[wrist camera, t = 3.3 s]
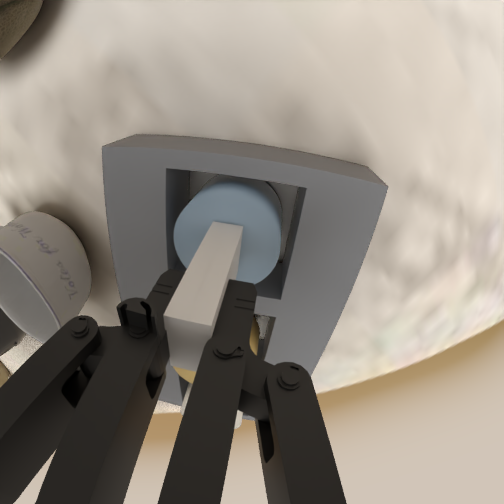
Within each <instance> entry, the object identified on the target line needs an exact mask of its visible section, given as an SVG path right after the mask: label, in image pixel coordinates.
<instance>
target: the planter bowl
mask: <svg viewBox="0 0 504 504" xmlns="http://www.w3.org/2000/svg"><path fill="white" fill-rule="evenodd" d="M8 375H9V372H8V370H7V369H6V368H5V366H4V365H3V364H2V363H1V362H0V387H1V386H2V385H3V384H4V383H5V382H6V381H7V380H8Z"/></svg>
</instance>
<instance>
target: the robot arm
mask: <svg viewBox="0 0 504 504" xmlns="http://www.w3.org/2000/svg"><path fill="white" fill-rule="evenodd" d="M242 233H243V226H239V225H233V224H227V223H220V222H214V221H213V222H212V224H211V226H210V228H209V230H208V231H207V233H206V235H205V237H204V239H203V240H202V242H201V244H200V246H199V248H198V250H197V251H196V253H195V255H194V257H193V259H192V261H191V263H190V264H189V266H188V268H187V270H186V272H185V271H180V270H175V269H169V270H167V271H166V272H164V273H163V274H161V275H160V277H159V279H158V280H157V282H156V285H154V287H153V288H152V291H151V292H150V293H149V295H148V297H147V298H146V299H144V298H137V297H135V298H129V299H126V300H124V301H122V302H121V303H120V304H119V305H118V306H117V311H118V315H119V319H120V322H121V326H115V327H106V326H98V325H97V322H96V321H95V320H94V319H93V318H92V317H89V316H82V315H81V316H77V317H74V318H72V319H71V320H69V321H68V322H67V323H66V324H65V325H64V326H63V327H61V328H60V329H59V330H58V331H57V332H56V333H55V334H54V335H53V336H52V337H51V338H50V339H48V340H47V341H46V342H45V343H44V344H43V345H42V346H41V347H40V348H39V349H38V350H37V351H36V352H35V353H34V354H33V355H32V356H31V357H30V358H29V359H28V360H27V361H26V362H25V363H24V364H23V365H22V366H21V367H20V368H19V369H18V370H17V371H16V372H15V373H14V374H13V375H12V376H11V377H10V378H9V379H8V380H7V381H6V382H5V383H4V384H3V385H2V386H1V387H0V504H13V503H14V502H15V501H16V500H17V499H18V498H19V496H20V495H21V493H22V492H23V491H24V490H25V488H26V487H27V486H28V484H29V483H30V482H31V480H32V479H33V478H34V476H35V475H36V474H37V473H38V472H39V470H40V469H41V468H42V466H43V465H44V464H45V463H46V461H47V460H48V459H49V458H50V456H51V455H52V454H53V453H54V451H55V450H56V449H57V450H56V452H55V454H54V457H53V459H52V461H51V464H50V466H49V469H48V471H47V474H46V477H45V479H44V482H43V484H42V487H41V489H40V492H39V495H38V498H37V501H36V503H35V504H123V502H124V499H125V496H126V492H127V489H128V486H129V483H130V479H131V477H132V473H133V470H134V467H135V464H136V461H137V458H138V455H139V452H140V449H141V446H142V444H143V441H144V438H145V435H146V432H147V429H148V426H149V423H150V420H151V418H152V415H153V412H154V409H155V406H156V404H157V401H158V398H159V395H160V393H161V390H162V387H163V385H164V382H165V379H166V365H167V363H168V360H169V359H170V365H171V366H174V367H178V368H182V369H186V370H190V371H195V372H196V375H195V378H194V381H193V384H192V388H191V391H190V394H189V397H188V401H187V404H186V407H185V411H184V414H183V418H182V421H181V424H180V428H179V431H178V434H177V438H176V441H175V445H174V448H173V451H172V455H171V458H170V462H169V465H168V469H167V472H166V476H165V479H164V483H163V487H162V490H161V493H160V497H159V501H158V504H220V502H221V497H222V491H223V486H224V481H225V476H226V470H227V465H228V460H229V455H230V449H231V443H232V438H233V433H234V427H235V422H236V416H237V411H238V410H239V411H241V412H243V413H245V414H247V415H249V416H251V417H253V418H255V424H256V430H257V437H258V443H259V450H260V456H261V463H262V469H263V475H264V481H265V487H266V493H267V499H268V504H346V500H345V496H344V492H343V489H342V485H341V481H340V477H339V474H338V470H337V466H336V463H335V459H334V456H333V452H332V448H331V445H330V441H329V438H328V435H327V431H326V427H325V424H324V421H323V417H322V413H321V410H320V407H319V403H318V400H317V397H316V393H315V390H314V386H313V383H312V380H311V377H310V375H309V373H308V371H307V370H306V369H305V368H303V367H302V366H301V365H298V364H296V363H294V362H281V363H277V364H276V365H273V364H270V363H268V362H266V361H264V360H262V359H260V358H259V357H258V356H257V355H255V354H254V352H253V351H252V349H251V347H250V334H251V328H252V322H253V316H254V310H255V304H256V298H257V290H256V288H255V286H254V283H249V282H243V281H238V280H236V276H237V273H238V265H239V257H240V249H241V241H242ZM25 335H26V333H25V332H24V331H23V330H21V329H20V328H19V327H18V326H17V325H16V324H15V323H14V322H13V321H12V320H11V319H10V318H9V317H8V316H7V315H6V314H5V312H4V311H3V310H2V309H1V308H0V356H1V355H3V354H4V353H6V352H7V351H9V350H10V349H11V348H13V347H14V346H17V345H18V344H19V343H20V342H21V341H22V339H23V338H24V337H25Z"/></svg>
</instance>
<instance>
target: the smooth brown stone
mask: <svg viewBox="0 0 504 504" xmlns="http://www.w3.org/2000/svg"><path fill="white" fill-rule="evenodd" d="M42 3H43V0H0V59H2V58H3V57H4V56H5V55H6V54H7V53H8V52H9V51H10V50H11V49H12V48H13V46H14V45H15V44H16V43H17V42H18V41H19V40H20V38H21V37H22V36H23V35H24V33H25V32H26V31H27V30H28V28H29V27H30V26H31V24H32V23H33V21H34V20H35V18H36V17H37V15H38V13H39V11H40V8H41V6H42Z"/></svg>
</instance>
